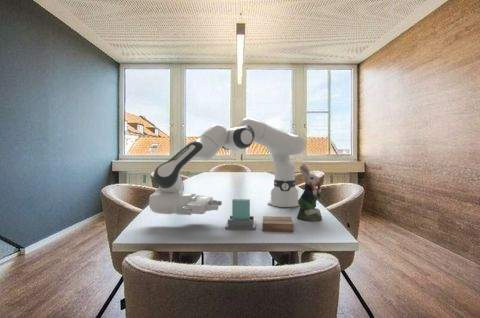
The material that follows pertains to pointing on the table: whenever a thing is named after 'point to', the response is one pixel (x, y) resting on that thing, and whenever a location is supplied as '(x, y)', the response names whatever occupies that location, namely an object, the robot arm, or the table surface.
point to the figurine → (309, 197)
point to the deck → (277, 224)
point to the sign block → (241, 209)
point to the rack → (241, 224)
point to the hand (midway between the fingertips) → (220, 205)
